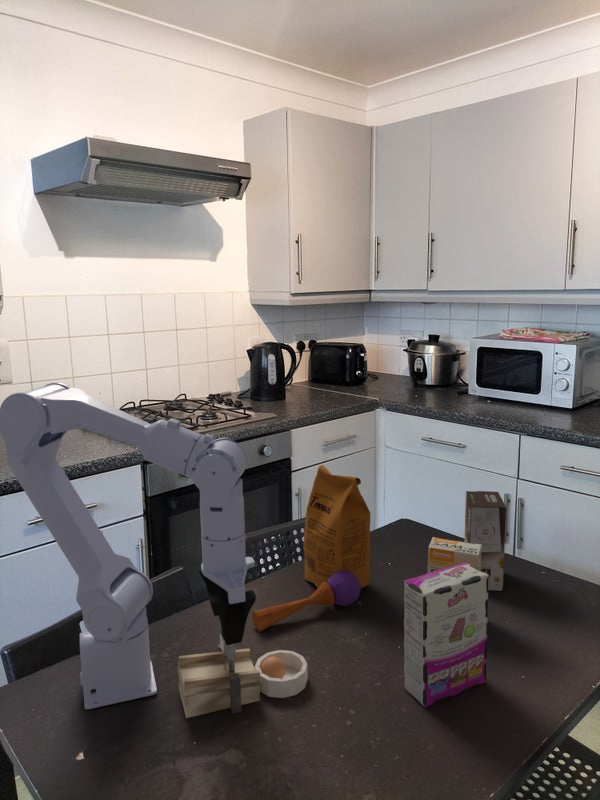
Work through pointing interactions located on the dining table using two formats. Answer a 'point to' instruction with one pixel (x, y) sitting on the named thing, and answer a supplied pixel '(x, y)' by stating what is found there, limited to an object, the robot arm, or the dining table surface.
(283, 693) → the white round shallow bowl
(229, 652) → the gate
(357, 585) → the kendama
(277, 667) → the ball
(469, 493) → the coffee box
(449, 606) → the candy bar box
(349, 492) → the coffee package
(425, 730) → the dining table surface
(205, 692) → the wooden box
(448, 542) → the supplement box
